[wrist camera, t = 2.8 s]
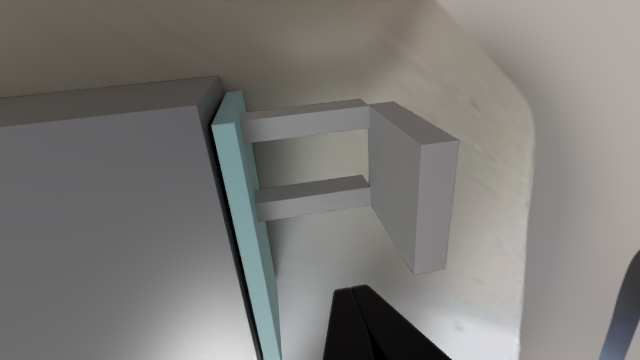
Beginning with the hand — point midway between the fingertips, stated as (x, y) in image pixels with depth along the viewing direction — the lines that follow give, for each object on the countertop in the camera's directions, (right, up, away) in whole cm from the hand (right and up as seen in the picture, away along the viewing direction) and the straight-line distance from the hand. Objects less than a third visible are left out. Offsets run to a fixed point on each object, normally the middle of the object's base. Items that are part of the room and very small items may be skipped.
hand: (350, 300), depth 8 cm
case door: (-1, +2, +13) cm, 13 cm away
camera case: (-11, 0, +12) cm, 17 cm away
